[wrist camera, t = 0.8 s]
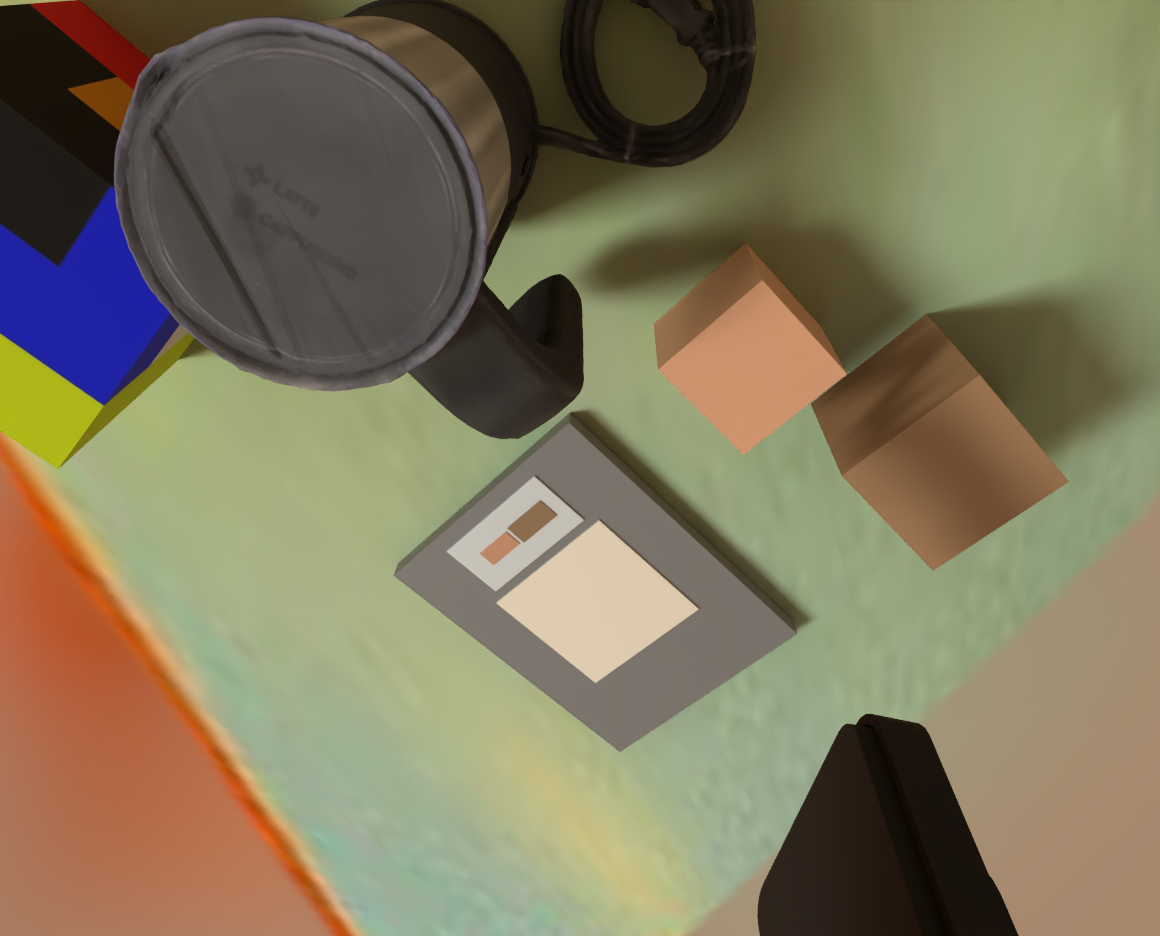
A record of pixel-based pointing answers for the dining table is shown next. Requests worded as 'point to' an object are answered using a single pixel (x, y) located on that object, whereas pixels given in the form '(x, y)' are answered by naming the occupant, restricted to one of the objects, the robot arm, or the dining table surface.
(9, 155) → the puzzle toy
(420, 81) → the milk frother
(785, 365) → the terracotta block
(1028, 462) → the walnut cube
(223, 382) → the dining table surface
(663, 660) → the board
